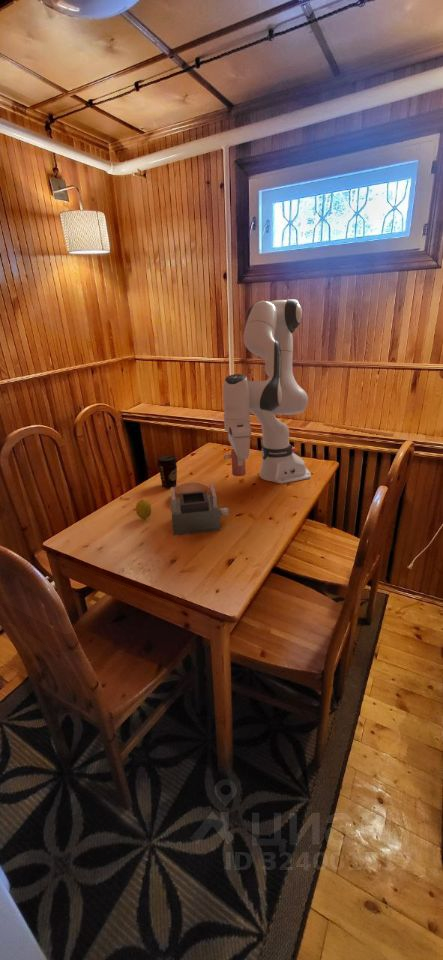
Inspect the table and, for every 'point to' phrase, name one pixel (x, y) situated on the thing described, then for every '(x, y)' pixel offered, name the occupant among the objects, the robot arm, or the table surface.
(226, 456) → the pink cylinder with stub
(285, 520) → the table surface
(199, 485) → the pie
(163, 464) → the coffee cup
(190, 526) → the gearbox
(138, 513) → the lemon
